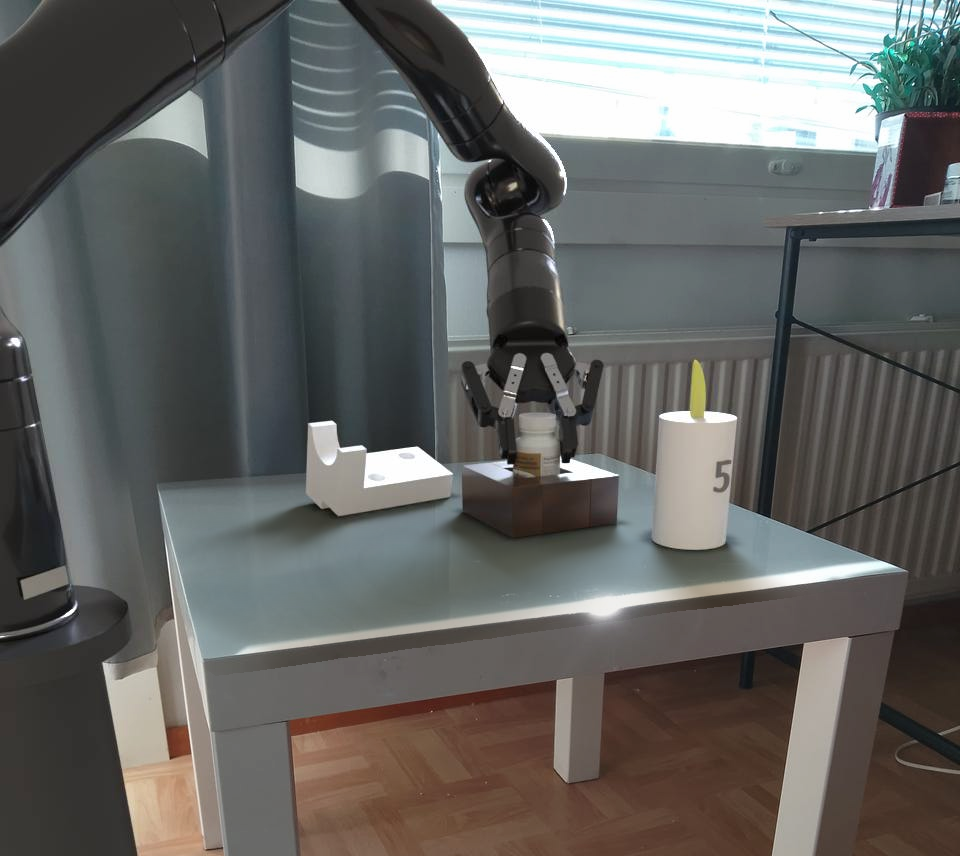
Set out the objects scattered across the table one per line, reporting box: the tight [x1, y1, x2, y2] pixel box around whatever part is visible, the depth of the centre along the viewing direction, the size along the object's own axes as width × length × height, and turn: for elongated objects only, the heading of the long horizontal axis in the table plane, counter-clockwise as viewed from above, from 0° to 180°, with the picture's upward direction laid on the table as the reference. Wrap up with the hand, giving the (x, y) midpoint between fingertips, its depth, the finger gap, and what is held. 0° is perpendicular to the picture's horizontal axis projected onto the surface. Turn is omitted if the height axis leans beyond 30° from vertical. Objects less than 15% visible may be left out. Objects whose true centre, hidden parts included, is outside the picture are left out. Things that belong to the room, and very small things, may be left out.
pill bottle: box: [513, 411, 561, 478], centre depth 86 cm, size 4×4×8 cm
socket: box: [461, 455, 620, 539], centre depth 88 cm, size 11×11×4 cm
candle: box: [651, 359, 738, 551], centre depth 78 cm, size 6×6×15 cm
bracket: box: [305, 420, 454, 517], centre depth 94 cm, size 13×7×8 cm, turn 125°
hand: (539, 458), depth 85 cm, fingers closed on pill bottle, 4 cm apart
